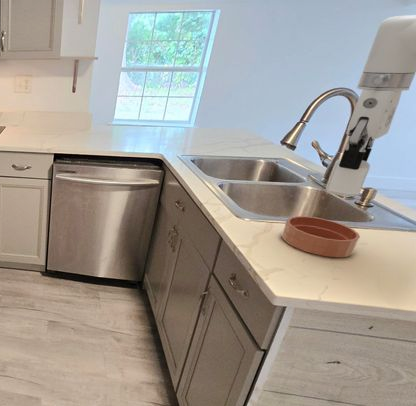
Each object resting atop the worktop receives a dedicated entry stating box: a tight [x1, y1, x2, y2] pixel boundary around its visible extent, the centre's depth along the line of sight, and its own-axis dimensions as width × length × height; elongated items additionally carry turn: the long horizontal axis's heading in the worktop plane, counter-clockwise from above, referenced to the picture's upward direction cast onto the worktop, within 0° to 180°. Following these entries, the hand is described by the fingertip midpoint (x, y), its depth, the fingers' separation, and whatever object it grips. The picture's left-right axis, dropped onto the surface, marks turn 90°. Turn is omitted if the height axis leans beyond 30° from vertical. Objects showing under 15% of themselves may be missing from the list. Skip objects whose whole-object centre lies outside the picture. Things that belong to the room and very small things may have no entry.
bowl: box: [281, 215, 361, 258], centre depth 96 cm, size 14×14×5 cm
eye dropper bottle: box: [325, 150, 371, 198], centre depth 83 cm, size 4×6×12 cm
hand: (352, 165), depth 83 cm, fingers closed on eye dropper bottle, 3 cm apart
